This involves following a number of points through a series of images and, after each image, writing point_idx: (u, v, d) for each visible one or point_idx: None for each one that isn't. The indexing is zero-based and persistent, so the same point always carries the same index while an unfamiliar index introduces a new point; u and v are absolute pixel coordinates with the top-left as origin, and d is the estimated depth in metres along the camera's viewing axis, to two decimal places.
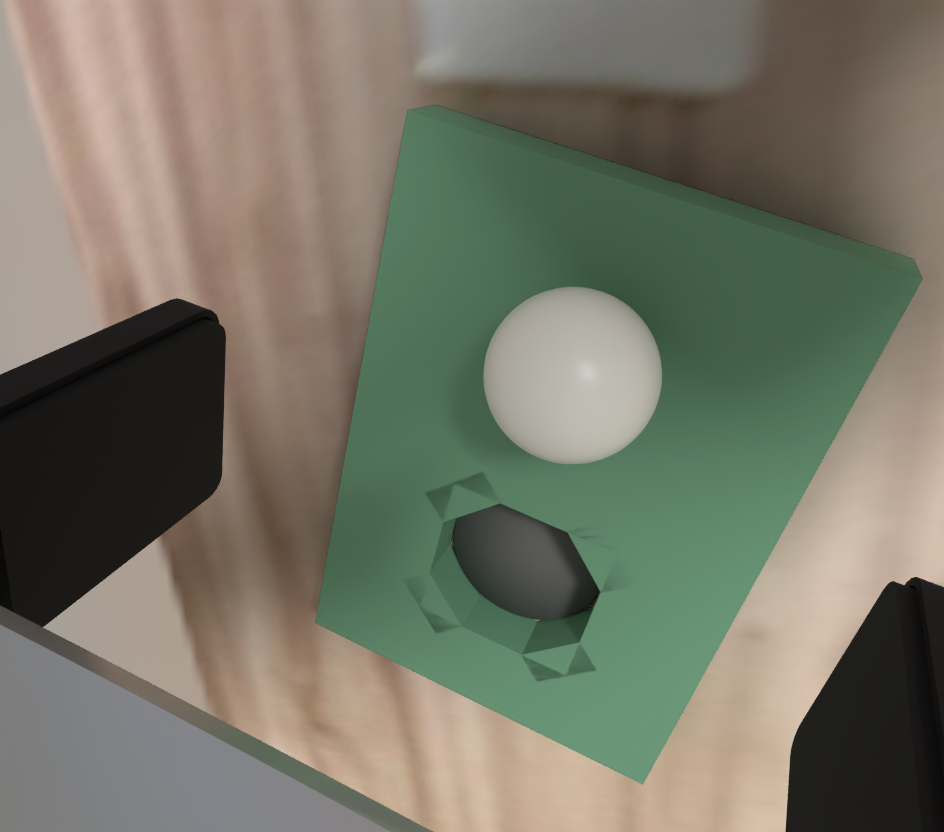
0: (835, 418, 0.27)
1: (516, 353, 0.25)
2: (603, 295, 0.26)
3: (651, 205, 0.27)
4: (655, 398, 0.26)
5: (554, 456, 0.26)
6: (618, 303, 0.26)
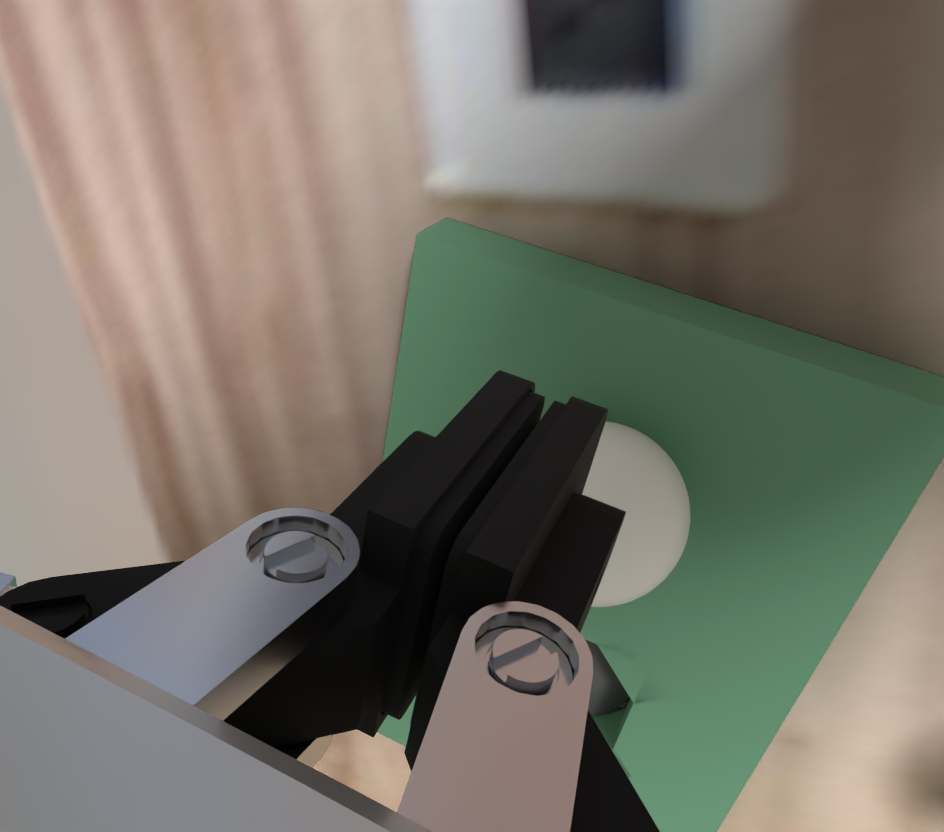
0: (877, 548, 0.26)
1: None
2: (625, 435, 0.25)
3: (675, 333, 0.25)
4: (683, 542, 0.24)
5: None
6: (642, 444, 0.24)
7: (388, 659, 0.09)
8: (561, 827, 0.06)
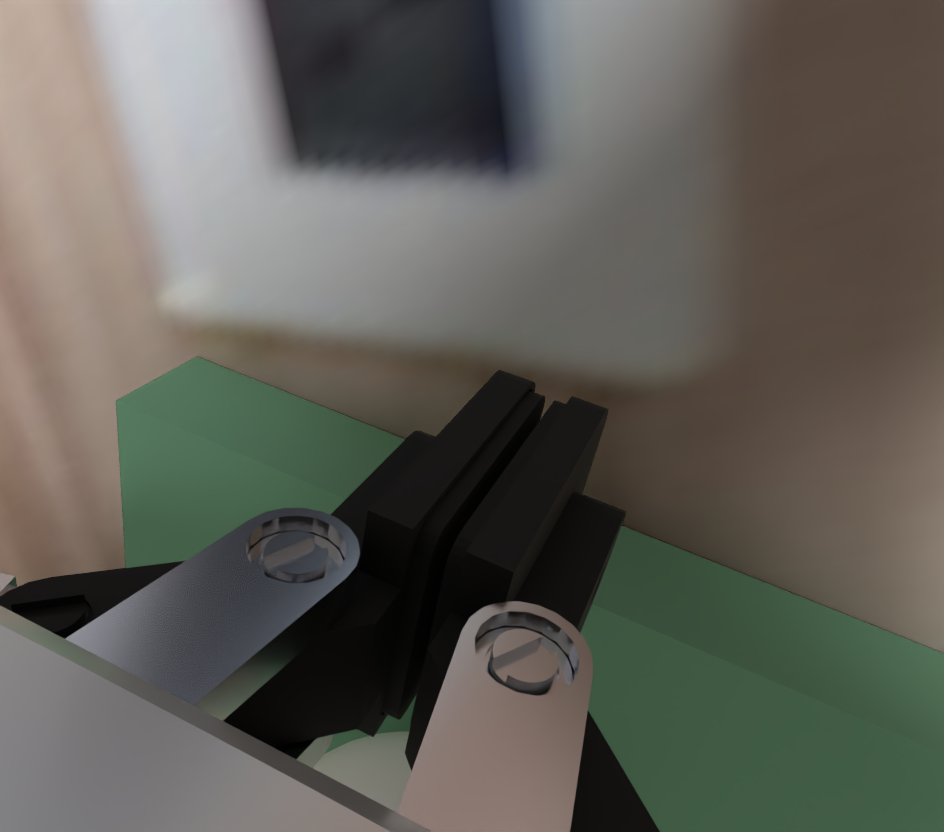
0: None
1: None
2: None
3: None
4: None
5: None
6: None
7: (388, 659, 0.09)
8: (561, 827, 0.06)
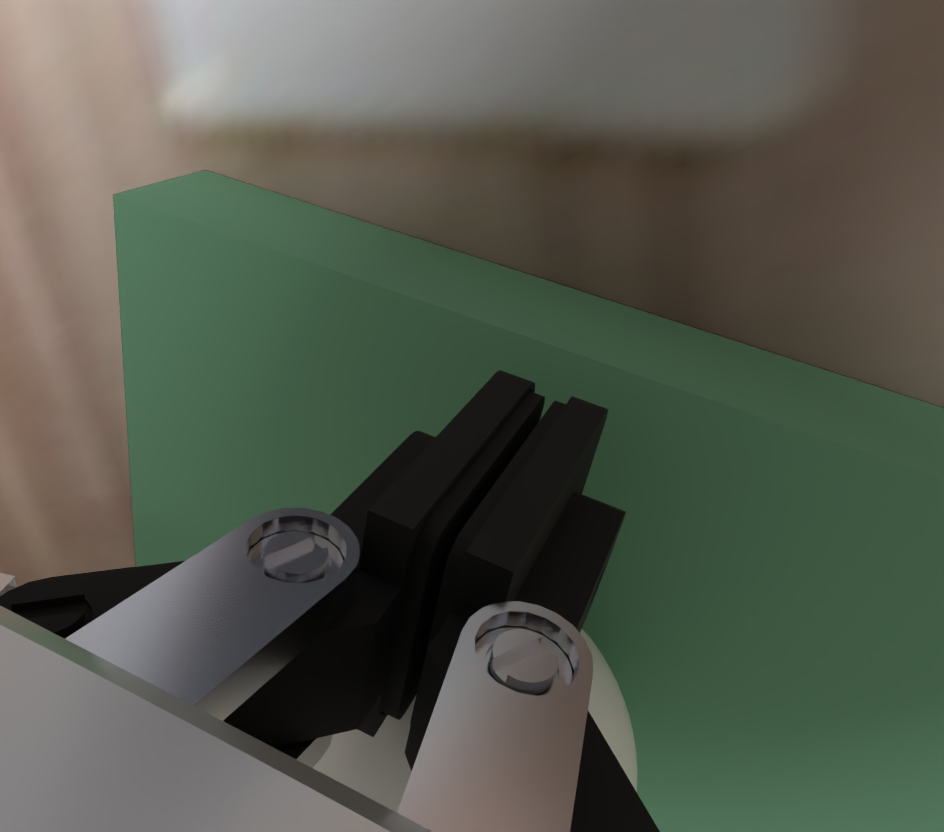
0: None
1: None
2: None
3: (603, 392, 0.12)
4: None
5: None
6: None
7: (388, 659, 0.09)
8: (561, 827, 0.06)
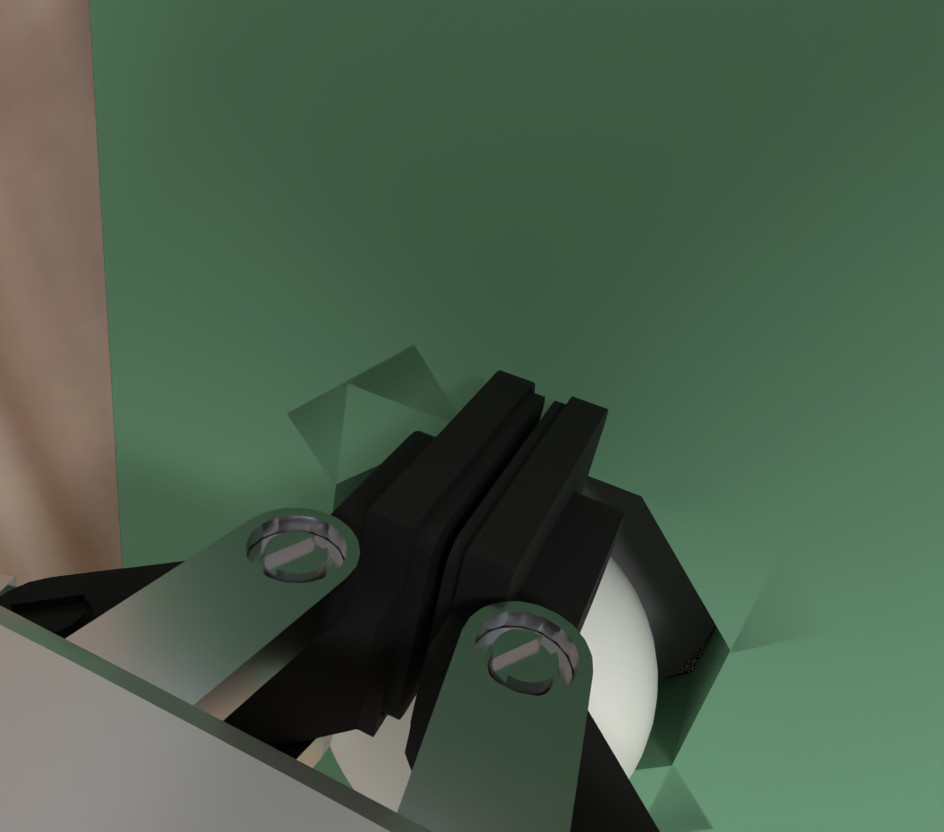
0: None
1: None
2: None
3: None
4: None
5: None
6: None
7: (387, 660, 0.09)
8: (561, 827, 0.06)
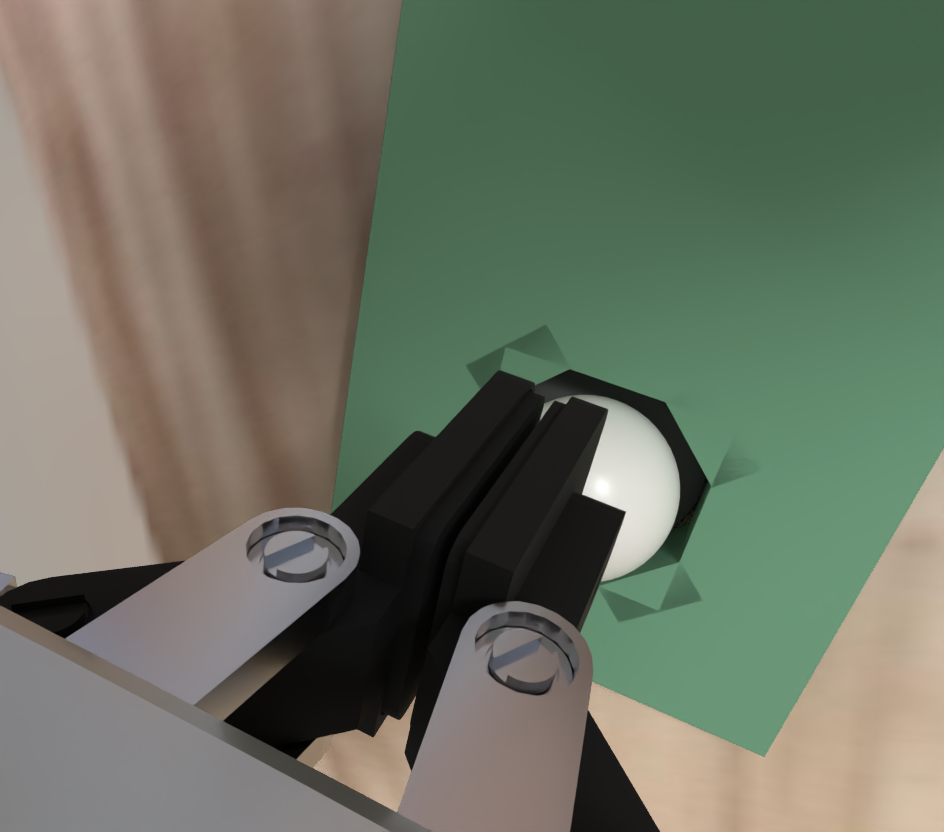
0: None
1: None
2: None
3: None
4: None
5: (624, 424, 0.24)
6: None
7: (387, 659, 0.09)
8: (561, 827, 0.06)
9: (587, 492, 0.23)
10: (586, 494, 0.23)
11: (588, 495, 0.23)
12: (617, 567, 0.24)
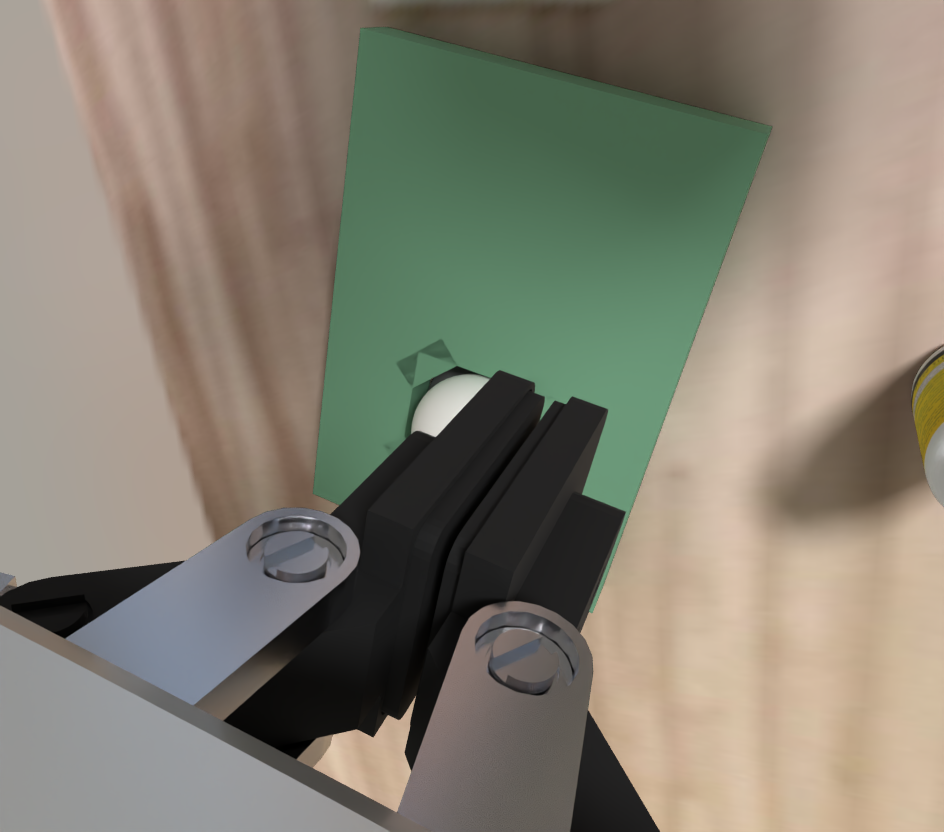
0: (714, 261, 0.34)
1: None
2: None
3: (556, 91, 0.33)
4: None
5: None
6: None
7: (388, 659, 0.09)
8: (561, 827, 0.06)
9: None
10: None
11: None
12: None
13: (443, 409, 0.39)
